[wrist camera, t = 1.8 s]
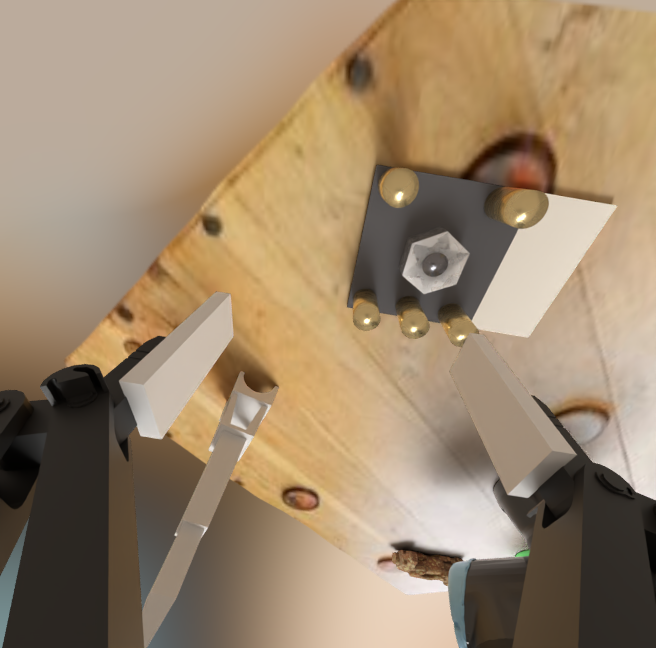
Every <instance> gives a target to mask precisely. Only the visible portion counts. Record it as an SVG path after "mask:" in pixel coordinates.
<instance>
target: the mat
mask: <svg viewBox="0 0 656 648" xmlns="http://www.w3.org/2000/svg"><path fill="white" fill-rule="evenodd" d="M391 168H394V167H388V166H382V165H376V170H375V174H374V179H373V184H372V189H371V194H370V199H369V203H368V208H367V213H366V218H365V223H364V227H363V232H362V237H361V242H360V247H359V252H358V256H357V261H356V266H355V271H354V276H353V280H352V285H351V290H350V295H349V300H348V305H347V307H348V308H353V297H354V295H355V293H356V292H357V291H359V290H361V289H370V290H372V291H373V292H374V293H375V294H376V297H377V302H378V307H379V313H384V314H390V315H396V316H397V313H396V309H395V306H396V303H397V302H398V301H399V300H400V299H401V298H403V297H406V296H412V297H415V298H416V299H417V300H418V301H419V303H420V305H421V307H422V309H423V311H424V313H425V315H426V317H427V320H428V321H431V322H437V323H440V321H439V319H438V312H439V310H440V309H441V308H442V307H443V306H445V305H447V304H451V303H453V304H457V305H459V306H460V307H461V308H462V309H463V311H464V312H465V313H466V314H467V316H468V317H469V318H470V320H471V321H472V322H473V323H474V325H475V326H476V327H477V329H479V330H485V331H491V332H497V333H503V334H508V335H514V336H520V337H526V338H529V336H530V335H531V333H532V332H533V330H534V329H535V327H536V326H537V324H538V323H539V321H540V320H541V318H542V317H543V315H544V314H545V312H546V311H547V309H548V308H549V306H550V305H551V303H552V302H553V300H554V299H555V298H556V296H557V295H558V293H559V292H560V290H561V289H562V287H563V286H564V284H565V283H566V281H567V280H568V278H569V277H570V275H571V274H572V272H573V271H574V269H575V268H576V266H577V265H578V263H579V262H580V260H581V259H582V258H583V256H584V255H585V253H586V252H587V250H588V249H589V247H590V246H591V244H592V243H593V241H594V240H595V238H596V237H597V235H598V234H599V232H600V231H601V229H602V228H603V226H604V225H605V223H606V222H607V220H608V219H609V217H610V216H611V215H612V213H613V212H614V210H615V209H616V207H617V205H611V204H605V203H599V202H593V201H588V200H582V199H576V198H570V197H564V196H558V195H552V194H546V193H545V194H546V195H547V197H548V200H549V206H548V210H547V212H546V214H545V216H544V217H543V218H542V219H541V220H540V221H539V222H538V223H537V224H535V225H534V226H532V227H529V228H526V229H519V228H515V227H513V226H510V225H507V224H504V223H502V222H499V221H496V220H494V219H491V218H489V217H487V216H486V214H485V212H484V204H485V201H486V199H487V197H488V196H489V195H490V193H492V192H493V191H494V190H496V189H498V188H500V187H505V186H499V185H494V184H488V183H482V182H476V181H470V180H464V179H458V178H452V177H447V176H441V175H435V174H429V173H423V172H417V171H413V172H414V173H415V174H416V176H417V178H418V181H419V190H418V193H417V196H416V197H415V199H414V200H413V201H412V202H411V203H410V204H409V205H407V206H405V207H402V208H395V207H392V206H390V205H389V204H388V203H387V202H386V201H385V200H384V199H383V198H382V197H381V196H380V194H379V192H378V182H379V179H380V177H381V175H382V174H383V173H384V172H385V171H387V170H388V169H391ZM437 227H442V228H443V229H445V230H446V231H448V232H449V233H450V234H451V235H452V236H453V237H454V238H455V239H456V240H457V241H458V242H459V243H460V244H461V245H462V246H463V247H464V248H465V249H466V250H467V251H468V252H469V253H470V254H469V256H468V259H467V261H466V263H465V265H464V268H463V270H462V272H461V275H460V277H459V279H458V282H457V284H456V285H453V286H450V287H446V288H443V289H440V290H436V291H433V292H430V293H426V294H423V293H422V292H421V291H420V290H418V289H417V288H416V287H415V286H414V285H413V284H412V283H410V282H409V281H408V280H407V279H406V278H405V277H403V276H402V274H401V272H400V269H399V266H400V262H401V259H402V256H403V252H404V249H405V246H406V242H407V239H408V238H409V237H412V236H415V235H418V234H420V233H423V232H426V231H429V230H431V229H434V228H437Z"/></svg>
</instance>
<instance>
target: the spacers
mask: <svg viewBox="0 0 656 648" xmlns="http://www.w3.org/2000/svg"><path fill="white" fill-rule="evenodd" d="M418 190H419V181H418V178H417V176H416V174H415V173H414V172H413V171H412V170H410V169H408V168H391V169H388V170H387V171H385V172H384V173H383V174H382V175H381V177H380V179H379V182H378V192H379V194H380V196H381V197H382V198H383V199H384V200H385V201H386V202H387V203H388V204H389V205H390V206H392V207H395V208H402V207H405V206H407V205H409V204H410V203H411V202H412V201H413V200H414V199H415V197H416V196H417V193H418ZM548 206H549V200H548V197H547V195H546V194H545V193H543V192H541V191H537V190H529V189H521V188H513V187H500V188H498V189H496V190H494V191H493V192H492V193H490V195H489V196H488V197H487V199H486V201H485V204H484V212H485V214H486V216H487V217H489V218H491V219H494V220H496V221H499V222H502V223H504V224H507V225H510V226H513V227H515V228H519V229H526V228H529V227H532V226H534V225H535V224H537V223H538V222H539V221H540V220H541V219H542V218H543V217H544V216H545V214H546V212H547V210H548ZM395 309H396V313H397V316H398V320H399V323H400V326H401V330H402V333H403V334H404V335H405V336H406V337H408V338H411V339H417V338H420V337H422V336H424V335H425V334H426V333H427V332H428V330H429V327H430V325H429V322H428V320H427V317H426V315H425V313H424V311H423V309H422V307H421V305H420V303H419V301H418V300H417V299H416V298H415V297H412V296H406V297H403V298H401V299H400V300H399V301H398V302H397V303H396V306H395ZM438 319H439V321H440V323H441V325H442V327H443V328H444V330H445V332H446V334H447V335H448V337H449V339H450V341H451V342H452V344H454V345H455V346H459V347H462V346H463V344H464V342H465V340H466V339H467V337H468V335H469V333H475V334H479V331H478V329H477V327H476V326H475V325H474V323H473V322H472V321H471V320H470V318H469V317H468V316H467V314H466V313H465V312H464V311H463V309H462V308H461V307H460V306H459V305H457V304H453V303H451V304H447V305H445V306H443V307H442V308H441V309H440V310H439V312H438ZM353 322H354V325H355V326H356V327H357V328H358V329H360V330H364V331H369V330H372V329H374V328H376V327H377V326H378V325H379V323H380V313H379V307H378V302H377V297H376V294H375V293H374V292H373V291H372V290H370V289H361V290H359V291H357V292H356V293H355V295H354V297H353Z"/></svg>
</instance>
